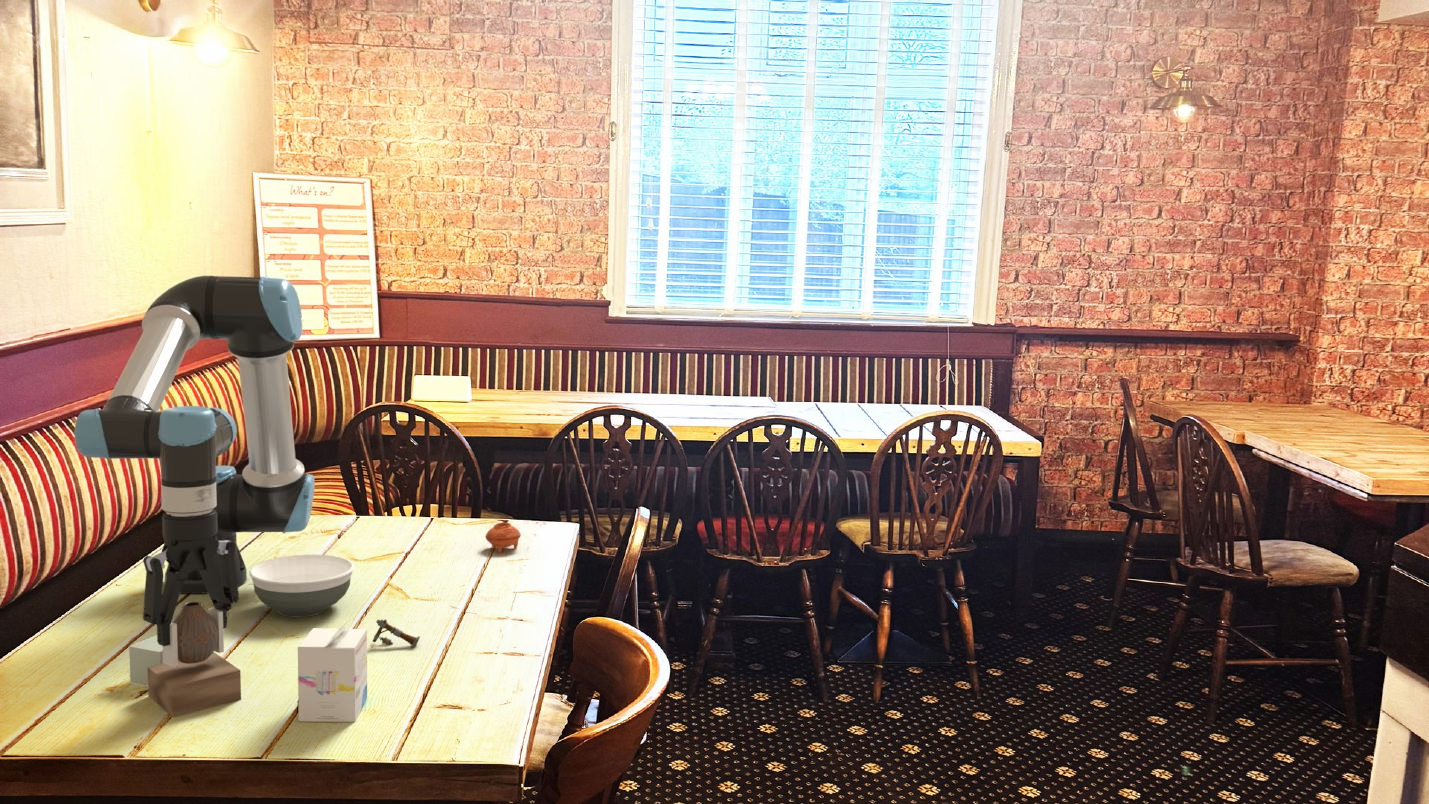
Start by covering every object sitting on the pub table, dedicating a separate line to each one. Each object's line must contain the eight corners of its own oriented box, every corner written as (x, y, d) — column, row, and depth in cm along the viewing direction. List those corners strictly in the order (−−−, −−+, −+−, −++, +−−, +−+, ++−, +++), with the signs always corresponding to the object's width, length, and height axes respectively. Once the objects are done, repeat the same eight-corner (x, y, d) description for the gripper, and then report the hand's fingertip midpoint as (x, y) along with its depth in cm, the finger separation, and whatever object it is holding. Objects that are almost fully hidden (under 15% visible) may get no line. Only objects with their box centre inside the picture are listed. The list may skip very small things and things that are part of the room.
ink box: (312, 699, 176) (311, 615, 174) (368, 699, 177) (367, 616, 175) (297, 722, 168) (296, 635, 166) (355, 722, 169) (355, 635, 167)
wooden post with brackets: (370, 636, 202) (380, 614, 201) (410, 657, 201) (420, 635, 201) (366, 640, 200) (376, 618, 199) (406, 661, 200) (417, 639, 199)
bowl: (255, 631, 204) (254, 587, 203) (245, 600, 221) (244, 559, 219) (363, 619, 213) (362, 576, 212) (345, 590, 229) (345, 550, 228)
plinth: (148, 698, 175) (147, 667, 174) (214, 682, 182) (213, 652, 181) (173, 719, 168) (172, 686, 167) (241, 701, 175) (240, 670, 174)
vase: (199, 669, 170) (198, 613, 169) (158, 664, 171) (156, 608, 170) (227, 654, 177) (226, 599, 176) (187, 648, 178) (186, 594, 177)
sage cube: (130, 682, 180) (129, 646, 179) (159, 669, 186) (158, 634, 185) (160, 688, 178) (159, 652, 177) (189, 675, 184) (188, 639, 183)
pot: (520, 553, 259) (513, 525, 258) (487, 560, 259) (479, 532, 258) (526, 543, 267) (519, 515, 266) (493, 549, 267) (487, 522, 266)
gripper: (139, 527, 161) (145, 683, 164) (263, 503, 177) (265, 645, 180) (110, 518, 165) (116, 670, 168) (234, 495, 181) (237, 634, 184)
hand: (193, 657), depth 174 cm, fingers closed on vase, 7 cm apart
